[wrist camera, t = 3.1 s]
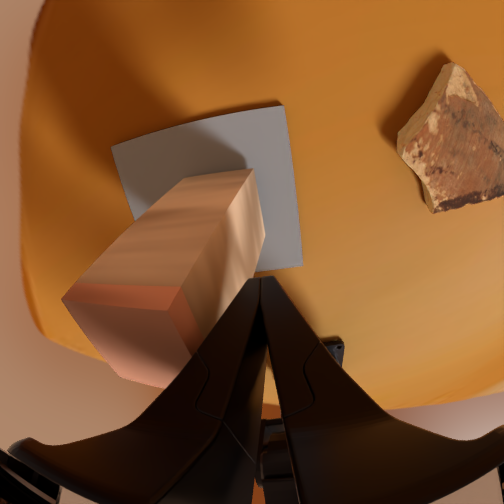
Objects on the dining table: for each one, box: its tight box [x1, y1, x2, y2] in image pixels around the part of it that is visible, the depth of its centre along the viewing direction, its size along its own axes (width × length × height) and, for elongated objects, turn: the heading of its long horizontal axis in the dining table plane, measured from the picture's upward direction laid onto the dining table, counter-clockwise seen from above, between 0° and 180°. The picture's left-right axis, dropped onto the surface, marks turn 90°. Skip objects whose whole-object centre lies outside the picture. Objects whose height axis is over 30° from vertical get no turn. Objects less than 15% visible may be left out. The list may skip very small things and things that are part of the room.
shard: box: [397, 62, 504, 214], centre depth 13 cm, size 13×9×2 cm
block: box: [61, 168, 265, 389], centre depth 11 cm, size 4×4×10 cm
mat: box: [111, 105, 303, 272], centre depth 16 cm, size 10×10×1 cm
